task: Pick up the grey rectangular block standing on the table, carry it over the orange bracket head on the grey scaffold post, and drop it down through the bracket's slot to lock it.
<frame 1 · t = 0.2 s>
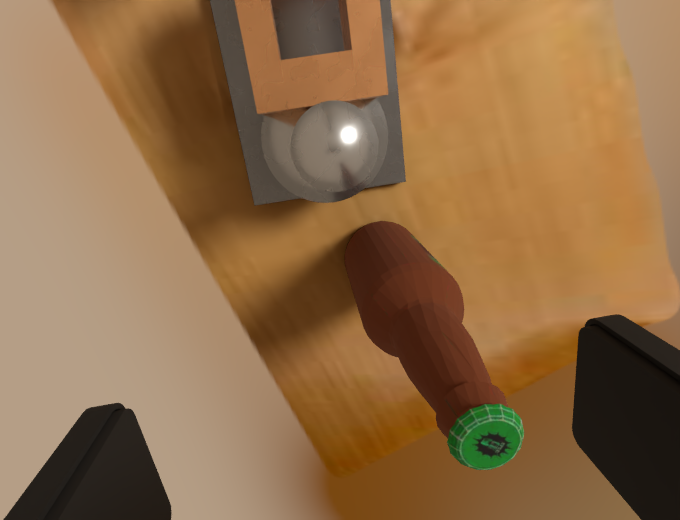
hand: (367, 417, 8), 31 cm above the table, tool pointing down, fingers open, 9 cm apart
bottle: (379, 253, 40), on the table
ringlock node: (321, 136, 36), on the table
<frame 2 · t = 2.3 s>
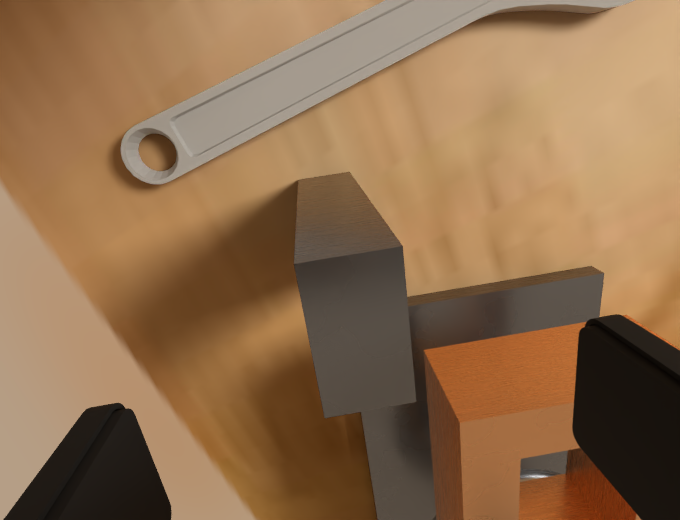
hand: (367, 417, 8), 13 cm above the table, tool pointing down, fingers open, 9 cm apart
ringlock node: (473, 459, 27), on the table
grey rectangular block: (330, 220, 20), on the table
adjustable wrench: (382, 19, 18), on the table
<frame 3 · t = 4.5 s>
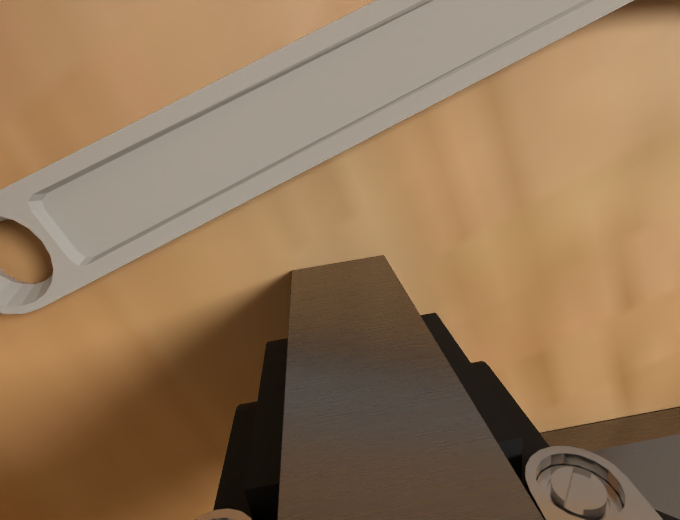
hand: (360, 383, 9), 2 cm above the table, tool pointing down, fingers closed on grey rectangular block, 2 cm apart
grey rectangular block: (349, 335, 12), on the table, touching gripper
adjustable wrench: (438, 5, 10), on the table
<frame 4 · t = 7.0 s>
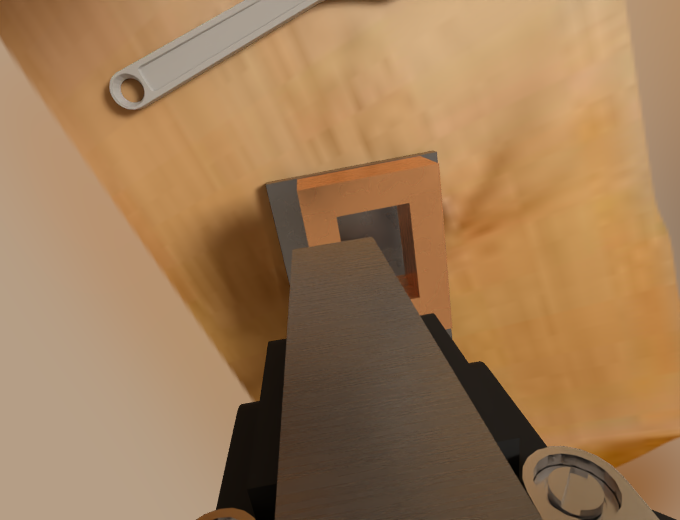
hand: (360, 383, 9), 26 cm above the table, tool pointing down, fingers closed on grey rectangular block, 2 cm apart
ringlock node: (372, 304, 38), on the table
grey rectangular block: (342, 307, 13), point 22 cm above the table, touching gripper
adjustable wrench: (266, 3, 29), on the table
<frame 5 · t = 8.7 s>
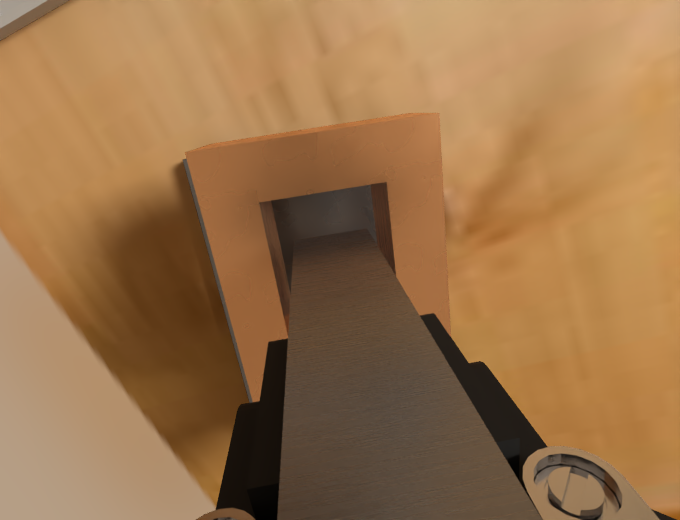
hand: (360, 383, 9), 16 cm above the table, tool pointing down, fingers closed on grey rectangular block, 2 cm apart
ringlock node: (342, 334, 27), on the table
grey rectangular block: (340, 294, 14), point 11 cm above the table, touching gripper
when the fingers open (14 cm above the table, at t = 9.7 s): grey rectangular block drops 7 cm, resting on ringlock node.
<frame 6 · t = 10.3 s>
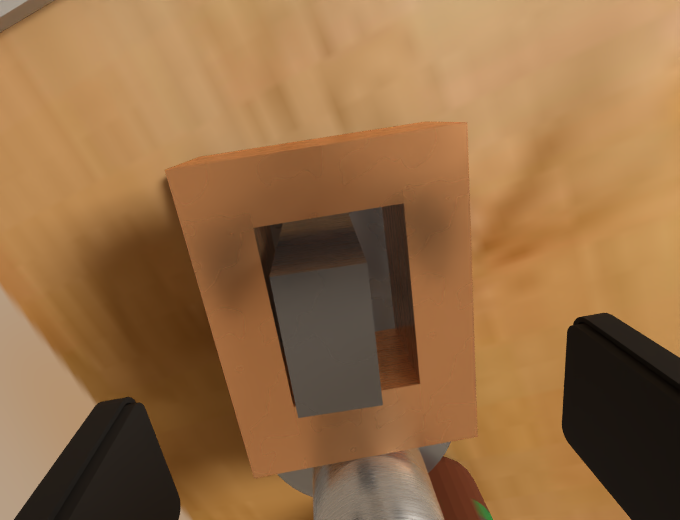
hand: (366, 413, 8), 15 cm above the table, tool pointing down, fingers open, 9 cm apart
bottle: (422, 485, 30), on the table
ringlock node: (347, 360, 25), on the table
grey rectangular block: (320, 232, 21), point 1 cm above the table, touching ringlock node
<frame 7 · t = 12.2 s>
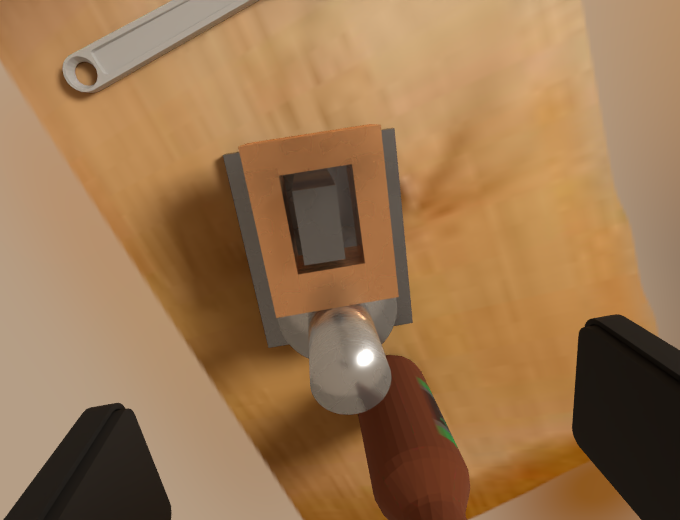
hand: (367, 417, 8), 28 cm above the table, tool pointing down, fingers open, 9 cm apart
bottle: (387, 380, 42), on the table
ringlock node: (332, 283, 38), on the table
grey rectangular block: (314, 194, 34), point 1 cm above the table, touching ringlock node
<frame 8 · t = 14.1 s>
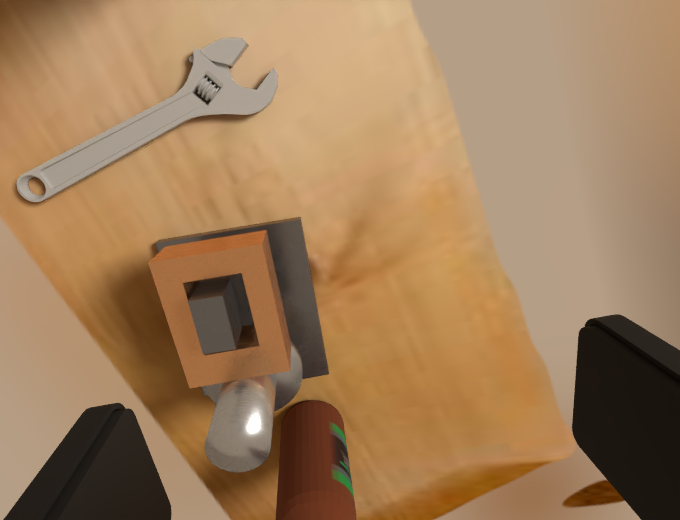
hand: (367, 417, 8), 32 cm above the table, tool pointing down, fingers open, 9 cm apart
bottle: (312, 420, 48), on the table
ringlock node: (258, 341, 44), on the table
grey rectangular block: (235, 272, 40), point 1 cm above the table, touching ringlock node
adjustable wrench: (146, 119, 36), on the table
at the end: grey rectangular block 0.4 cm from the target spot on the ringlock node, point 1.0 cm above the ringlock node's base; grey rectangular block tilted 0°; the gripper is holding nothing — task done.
